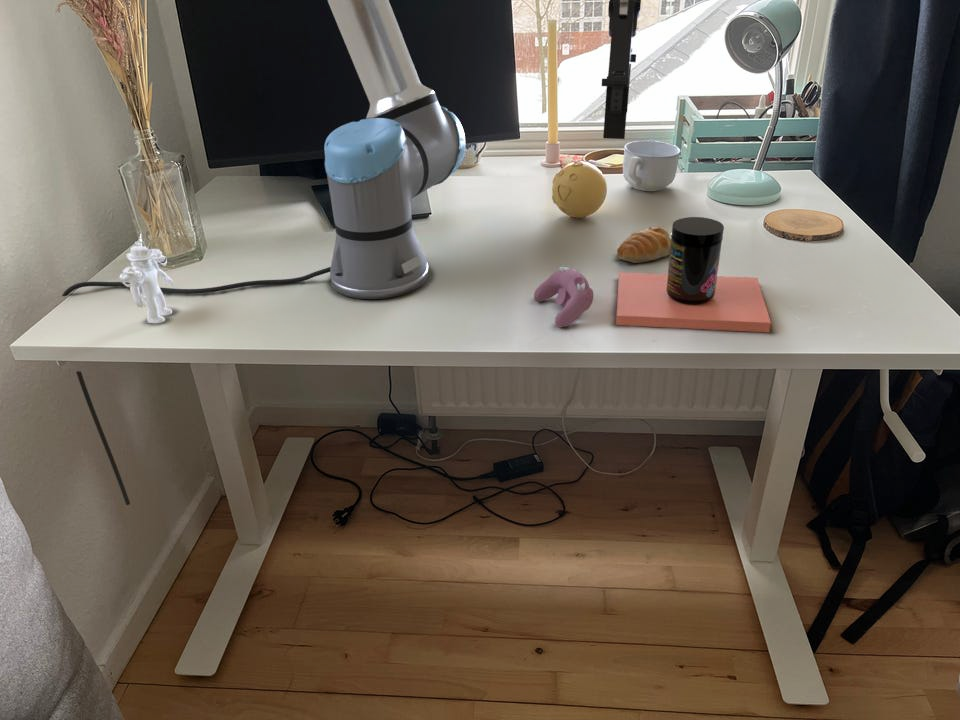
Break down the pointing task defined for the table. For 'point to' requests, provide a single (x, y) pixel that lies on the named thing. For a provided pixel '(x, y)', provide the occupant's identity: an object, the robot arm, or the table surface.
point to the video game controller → (566, 294)
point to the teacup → (650, 164)
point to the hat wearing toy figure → (147, 281)
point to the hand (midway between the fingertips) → (615, 124)
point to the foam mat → (727, 310)
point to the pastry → (645, 245)
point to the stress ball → (579, 189)
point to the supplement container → (694, 259)
